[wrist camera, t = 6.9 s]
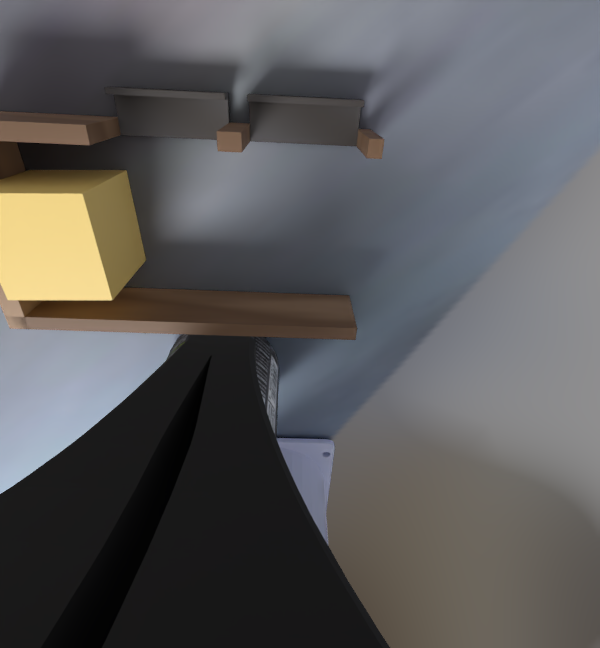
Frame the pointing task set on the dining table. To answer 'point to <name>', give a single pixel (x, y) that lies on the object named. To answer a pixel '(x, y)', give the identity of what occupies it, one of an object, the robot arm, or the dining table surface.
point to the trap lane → (214, 123)
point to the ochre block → (68, 235)
